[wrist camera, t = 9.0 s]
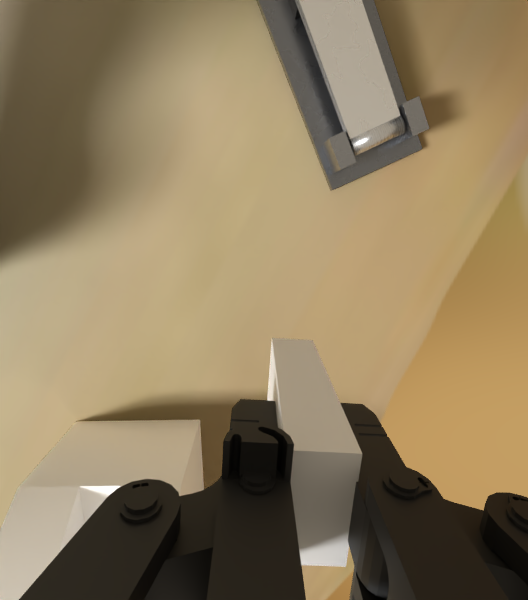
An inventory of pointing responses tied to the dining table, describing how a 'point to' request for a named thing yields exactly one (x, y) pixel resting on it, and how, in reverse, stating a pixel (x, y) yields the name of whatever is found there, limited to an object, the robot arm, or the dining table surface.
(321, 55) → the white flat bar
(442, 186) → the dining table surface
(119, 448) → the white box
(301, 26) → the base
